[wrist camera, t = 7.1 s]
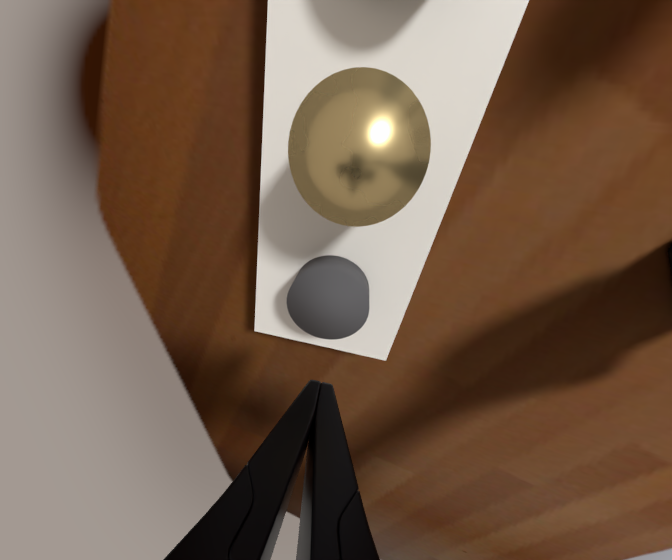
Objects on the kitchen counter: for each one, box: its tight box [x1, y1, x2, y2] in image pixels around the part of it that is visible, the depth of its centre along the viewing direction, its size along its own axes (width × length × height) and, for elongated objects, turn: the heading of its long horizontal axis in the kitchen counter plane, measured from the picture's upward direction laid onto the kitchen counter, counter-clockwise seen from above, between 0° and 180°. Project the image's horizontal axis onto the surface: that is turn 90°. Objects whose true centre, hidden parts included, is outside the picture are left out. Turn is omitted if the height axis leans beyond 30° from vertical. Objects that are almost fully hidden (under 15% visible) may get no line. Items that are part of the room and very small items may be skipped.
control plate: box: [254, 0, 529, 361], centre depth 14 cm, size 26×10×3 cm, turn 169°
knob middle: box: [288, 67, 431, 227], centre depth 11 cm, size 5×5×5 cm
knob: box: [287, 255, 369, 340], centre depth 17 cm, size 5×5×5 cm
